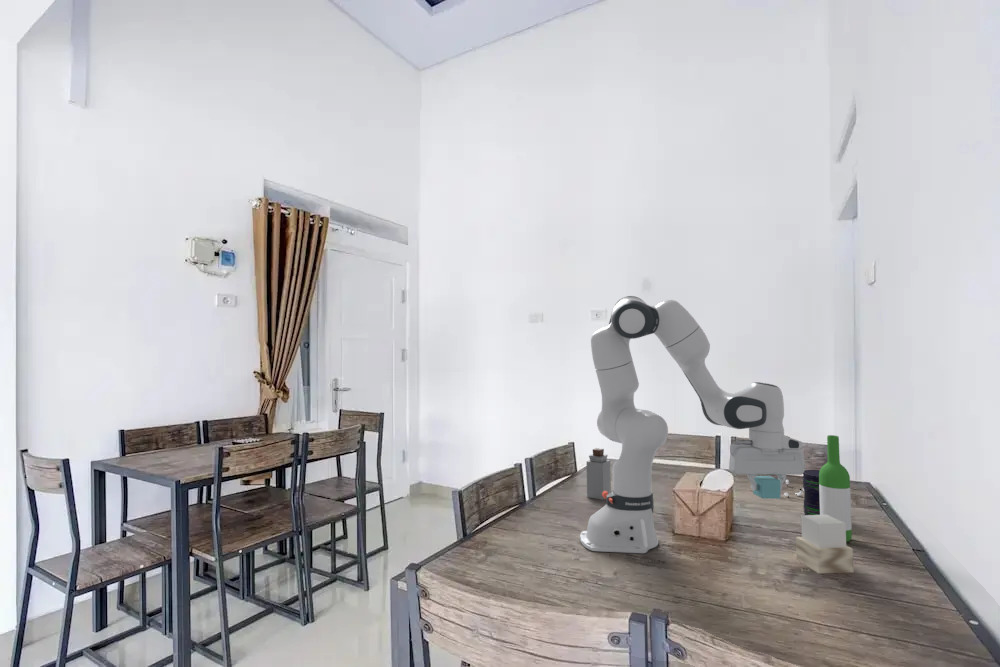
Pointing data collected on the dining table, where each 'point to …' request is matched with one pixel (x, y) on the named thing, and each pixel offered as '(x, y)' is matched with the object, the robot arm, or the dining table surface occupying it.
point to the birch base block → (824, 557)
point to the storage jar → (811, 492)
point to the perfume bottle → (598, 474)
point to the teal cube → (768, 487)
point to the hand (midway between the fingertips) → (766, 490)
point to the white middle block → (823, 531)
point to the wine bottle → (835, 487)
